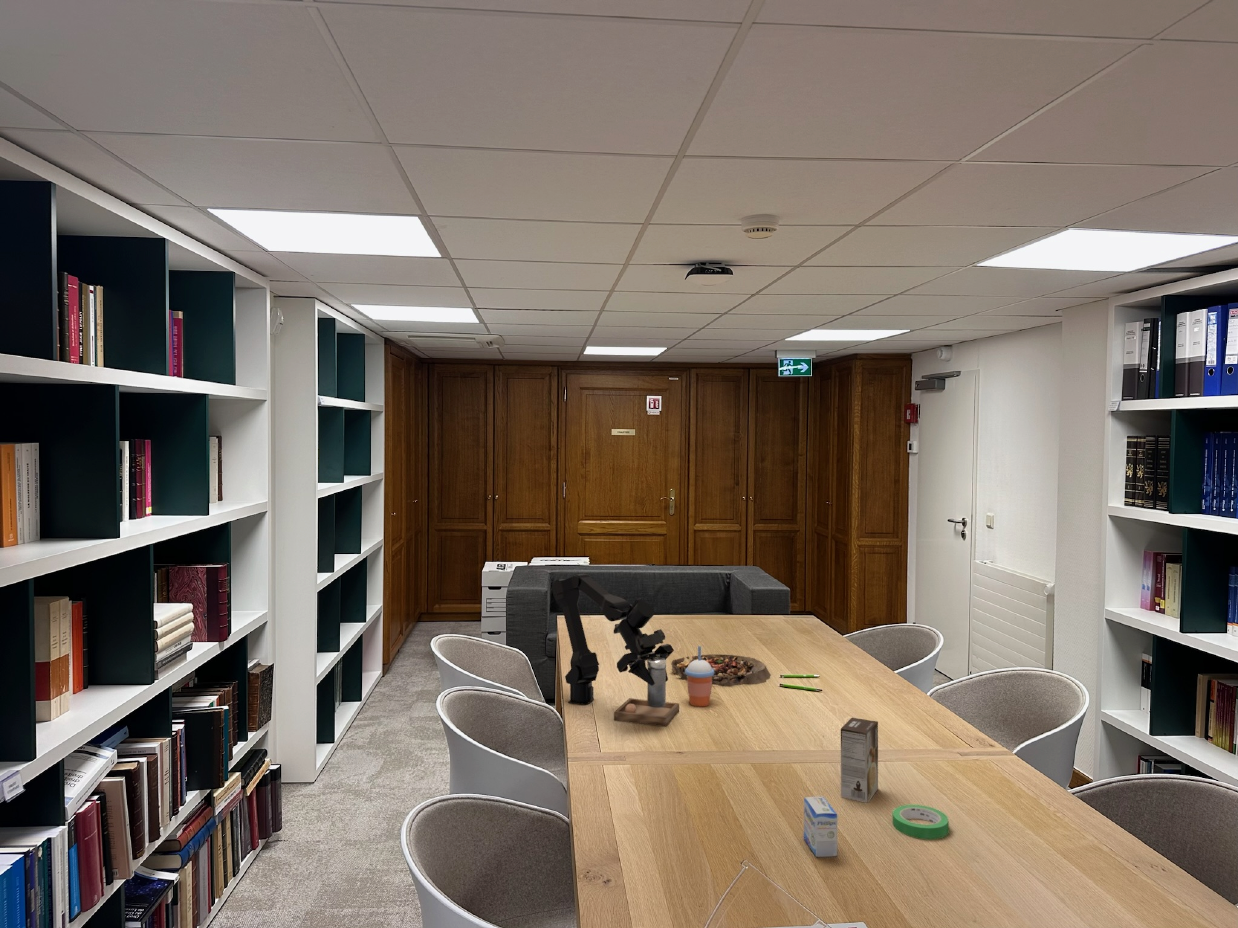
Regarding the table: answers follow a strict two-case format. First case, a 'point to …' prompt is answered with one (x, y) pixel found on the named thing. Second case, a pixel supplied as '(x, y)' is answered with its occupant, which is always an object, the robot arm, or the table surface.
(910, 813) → the tape roll
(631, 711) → the ball
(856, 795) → the coffee box
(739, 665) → the food dish
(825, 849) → the medicine box
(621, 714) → the tray
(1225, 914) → the table surface
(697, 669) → the cup with straw
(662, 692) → the shaker
